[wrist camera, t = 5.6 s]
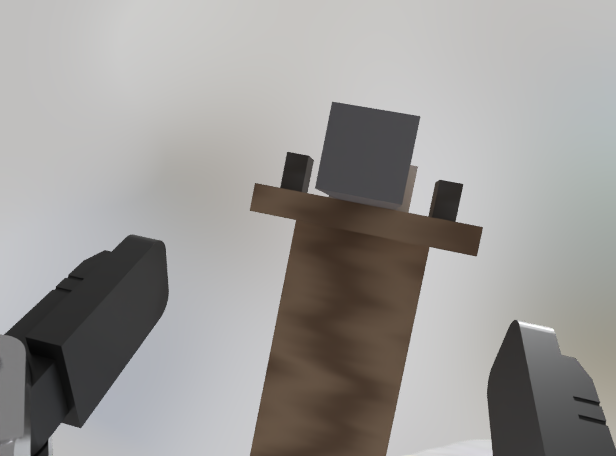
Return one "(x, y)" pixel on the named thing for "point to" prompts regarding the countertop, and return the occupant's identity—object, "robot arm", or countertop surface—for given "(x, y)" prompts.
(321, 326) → the stand
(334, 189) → the cord plug
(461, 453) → the countertop surface
